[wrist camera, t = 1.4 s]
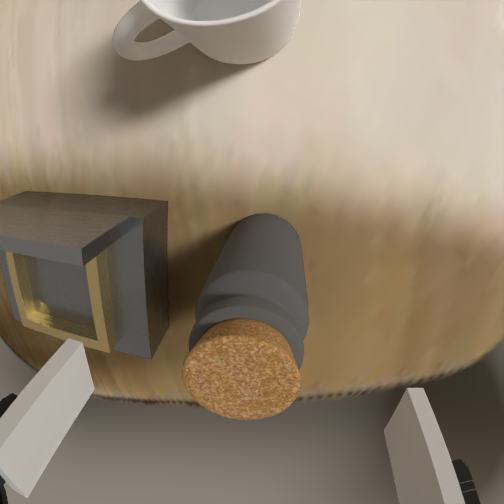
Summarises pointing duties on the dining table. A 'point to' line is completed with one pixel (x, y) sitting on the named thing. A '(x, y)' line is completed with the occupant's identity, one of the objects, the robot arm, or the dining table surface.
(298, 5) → the mug
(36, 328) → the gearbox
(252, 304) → the bottle
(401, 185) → the dining table surface
